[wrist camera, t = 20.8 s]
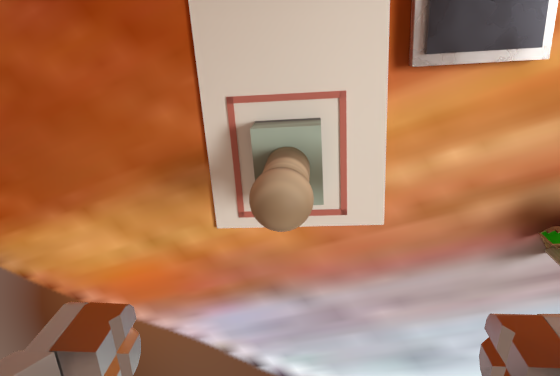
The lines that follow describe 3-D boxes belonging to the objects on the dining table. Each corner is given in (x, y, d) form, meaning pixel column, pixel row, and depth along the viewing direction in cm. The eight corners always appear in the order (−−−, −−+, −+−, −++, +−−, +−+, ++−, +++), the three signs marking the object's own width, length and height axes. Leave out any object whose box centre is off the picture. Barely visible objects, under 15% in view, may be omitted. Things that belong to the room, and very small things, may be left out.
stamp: (255, 121, 32) (227, 161, 22) (320, 117, 32) (323, 157, 21) (261, 193, 34) (239, 261, 24) (323, 191, 34) (326, 259, 24)
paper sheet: (181, -67, 28) (179, -68, 28) (391, -86, 27) (392, -88, 26) (217, 226, 36) (216, 228, 35) (383, 223, 34) (384, 225, 34)
